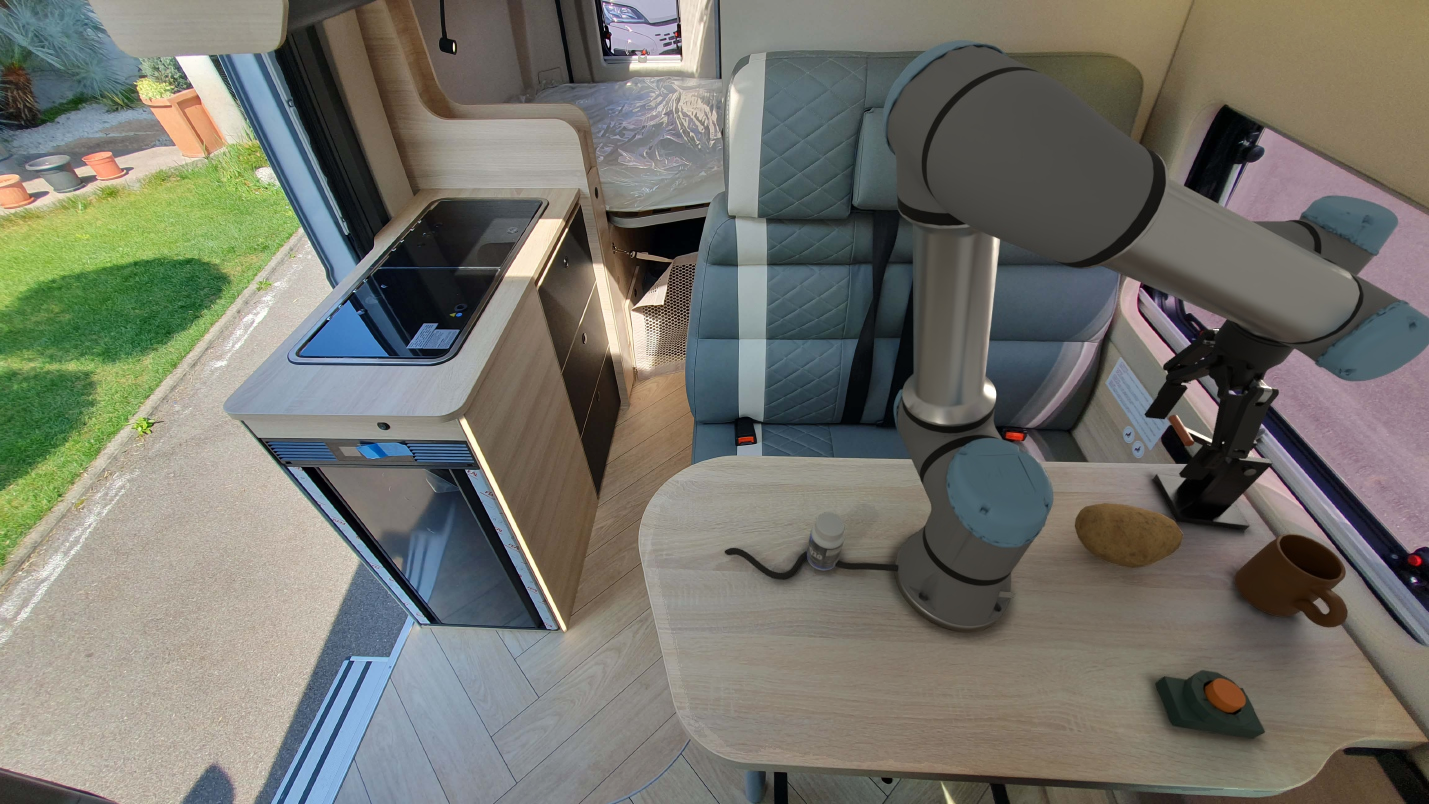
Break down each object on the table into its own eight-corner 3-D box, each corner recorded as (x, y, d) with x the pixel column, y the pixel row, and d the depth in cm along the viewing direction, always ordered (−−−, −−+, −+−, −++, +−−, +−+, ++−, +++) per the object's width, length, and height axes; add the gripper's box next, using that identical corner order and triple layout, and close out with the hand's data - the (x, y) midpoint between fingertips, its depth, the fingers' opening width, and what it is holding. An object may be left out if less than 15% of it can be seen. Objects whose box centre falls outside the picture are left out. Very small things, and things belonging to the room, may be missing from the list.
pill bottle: (799, 549, 86) (806, 515, 80) (827, 539, 87) (835, 505, 82) (816, 576, 83) (824, 542, 77) (844, 564, 84) (854, 530, 78)
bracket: (1176, 521, 91) (1225, 467, 82) (1152, 478, 97) (1196, 424, 89) (1245, 530, 90) (1302, 476, 81) (1216, 486, 96) (1267, 431, 88)
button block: (1173, 730, 68) (1192, 718, 65) (1152, 678, 73) (1169, 664, 70) (1256, 744, 67) (1279, 732, 64) (1229, 690, 72) (1250, 676, 69)
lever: (1178, 447, 83) (1194, 437, 81) (1162, 421, 87) (1177, 410, 85) (1248, 479, 85) (1265, 470, 83) (1229, 452, 89) (1245, 443, 87)
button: (1212, 710, 66) (1221, 704, 65) (1199, 682, 69) (1207, 676, 68) (1242, 715, 66) (1251, 709, 65) (1228, 686, 68) (1237, 680, 67)
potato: (1177, 583, 82) (1210, 552, 77) (1076, 575, 83) (1101, 543, 78) (1146, 527, 90) (1174, 495, 84) (1053, 519, 91) (1075, 487, 85)
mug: (1330, 654, 75) (1388, 619, 69) (1267, 646, 76) (1318, 610, 70) (1277, 573, 84) (1324, 535, 78) (1221, 566, 85) (1263, 528, 78)
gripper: (1364, 391, 63) (1239, 513, 77) (1248, 279, 80) (1164, 395, 95) (1289, 383, 63) (1179, 505, 78) (1190, 274, 81) (1116, 390, 96)
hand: (1171, 445), depth 86 cm, fingers open, 12 cm apart
